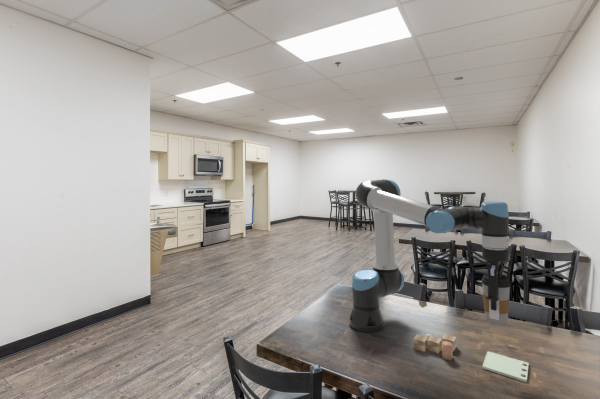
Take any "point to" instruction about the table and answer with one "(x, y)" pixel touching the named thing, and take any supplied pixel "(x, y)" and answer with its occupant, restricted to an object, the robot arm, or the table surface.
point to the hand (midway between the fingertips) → (496, 314)
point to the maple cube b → (434, 344)
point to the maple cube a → (420, 343)
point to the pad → (506, 366)
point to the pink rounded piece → (447, 350)
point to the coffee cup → (503, 299)
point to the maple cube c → (450, 340)
